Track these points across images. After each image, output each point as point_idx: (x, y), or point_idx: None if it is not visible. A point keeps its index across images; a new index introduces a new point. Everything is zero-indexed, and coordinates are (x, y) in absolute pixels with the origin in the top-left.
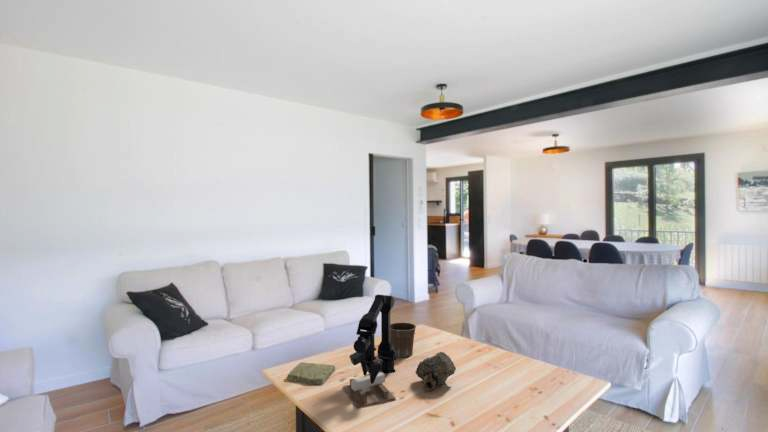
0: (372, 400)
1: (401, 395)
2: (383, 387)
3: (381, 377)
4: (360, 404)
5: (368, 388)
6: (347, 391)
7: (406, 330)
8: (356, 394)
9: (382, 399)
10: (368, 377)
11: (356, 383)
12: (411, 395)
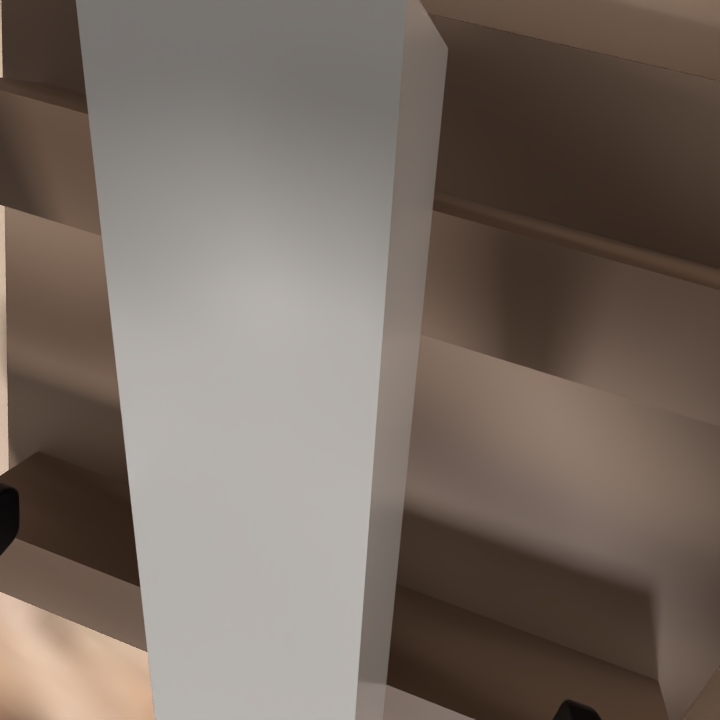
0: (65, 291)
1: (98, 658)
2: (96, 613)
3: None
4: (24, 19)
5: (461, 509)
6: (689, 89)
7: None
8: None
9: (32, 423)
10: (238, 647)
11: (110, 88)
12: (54, 712)
